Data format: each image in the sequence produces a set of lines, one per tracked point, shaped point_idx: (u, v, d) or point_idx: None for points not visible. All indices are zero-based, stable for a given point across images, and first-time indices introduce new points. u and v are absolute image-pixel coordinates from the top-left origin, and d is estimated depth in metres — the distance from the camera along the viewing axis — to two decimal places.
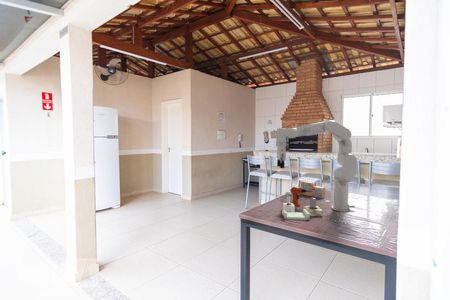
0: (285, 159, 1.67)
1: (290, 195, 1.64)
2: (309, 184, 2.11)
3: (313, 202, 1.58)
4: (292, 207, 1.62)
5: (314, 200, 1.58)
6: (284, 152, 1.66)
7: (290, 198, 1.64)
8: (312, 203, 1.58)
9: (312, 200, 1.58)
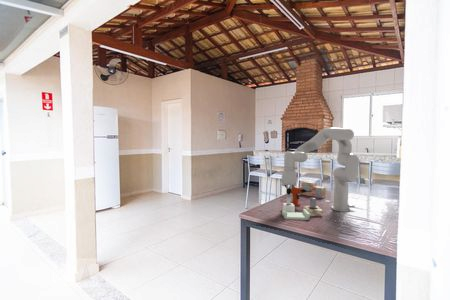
0: None
1: (290, 196, 1.64)
2: (309, 184, 2.10)
3: (313, 202, 1.58)
4: (292, 207, 1.62)
5: (314, 200, 1.58)
6: None
7: (290, 199, 1.64)
8: (312, 203, 1.58)
9: (312, 200, 1.58)
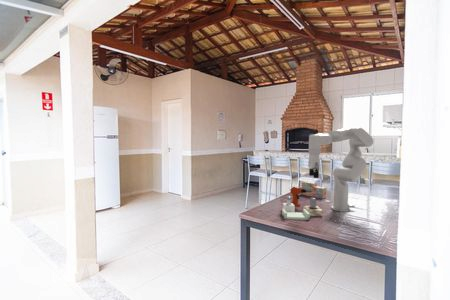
0: (308, 166, 1.63)
1: (290, 199, 1.64)
2: (310, 184, 2.09)
3: (313, 202, 1.58)
4: (292, 207, 1.62)
5: (314, 200, 1.58)
6: None
7: (290, 202, 1.64)
8: (312, 203, 1.58)
9: (312, 200, 1.58)
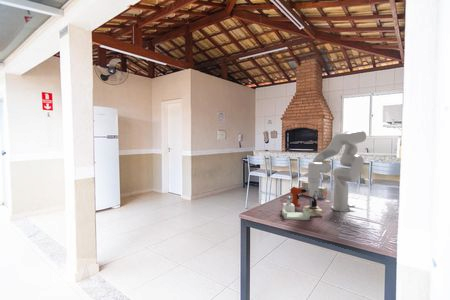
0: None
1: (290, 199, 1.64)
2: None
3: None
4: (292, 207, 1.62)
5: None
6: None
7: (290, 202, 1.64)
8: None
9: None
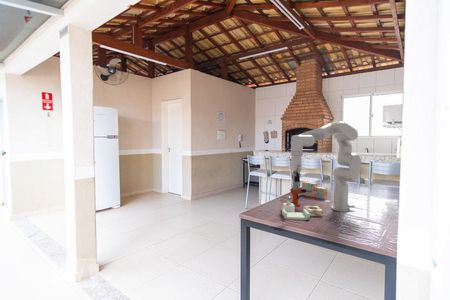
0: None
1: (290, 199, 1.64)
2: (311, 185, 2.08)
3: None
4: (292, 207, 1.62)
5: None
6: None
7: (290, 202, 1.64)
8: None
9: None
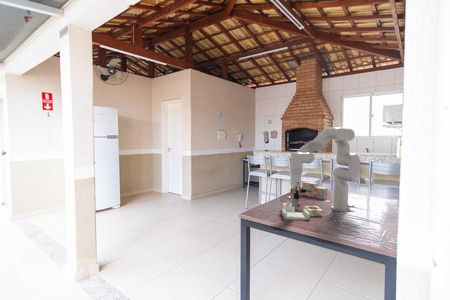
0: None
1: (290, 199, 1.64)
2: (311, 185, 2.07)
3: None
4: (292, 207, 1.62)
5: None
6: None
7: (290, 202, 1.64)
8: None
9: (294, 192, 1.51)
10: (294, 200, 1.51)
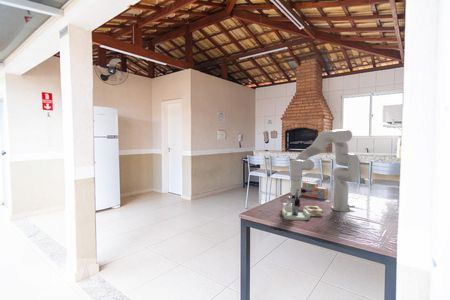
0: None
1: (290, 199, 1.64)
2: (311, 185, 2.07)
3: None
4: None
5: None
6: None
7: (290, 202, 1.64)
8: (294, 204, 1.51)
9: (294, 200, 1.51)
10: (294, 209, 1.51)
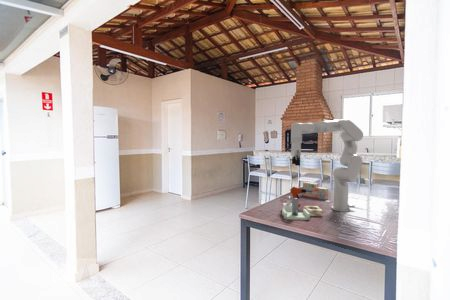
0: (291, 155, 1.66)
1: (290, 199, 1.64)
2: (312, 185, 2.06)
3: (295, 202, 1.51)
4: None
5: (296, 200, 1.51)
6: None
7: (290, 202, 1.64)
8: (294, 203, 1.51)
9: (294, 200, 1.51)
10: (294, 208, 1.51)
